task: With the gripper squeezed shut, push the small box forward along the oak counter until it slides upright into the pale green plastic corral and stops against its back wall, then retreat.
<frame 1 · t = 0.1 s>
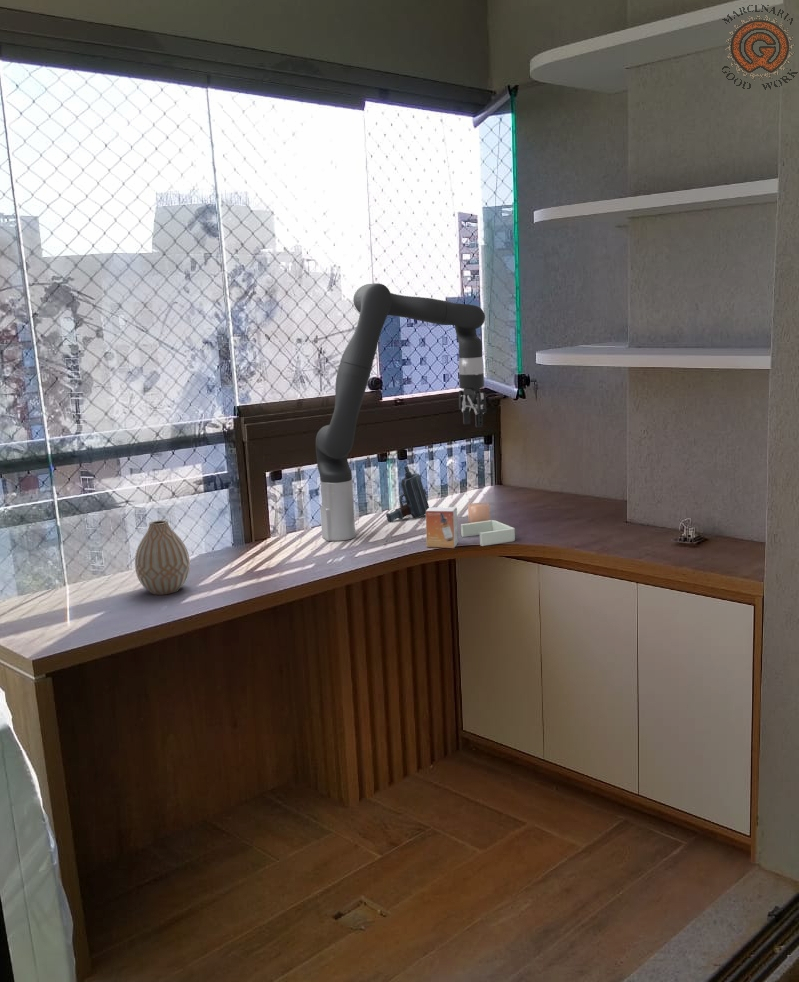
hand: (473, 425, 292), 29 cm above the table, fingers open, 8 cm apart
tan square slab: (479, 527, 284), on the table
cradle: (487, 538, 271), on the table
gun: (408, 519, 302), on the table
vase: (165, 591, 235), on the table
small box: (442, 546, 266), on the table
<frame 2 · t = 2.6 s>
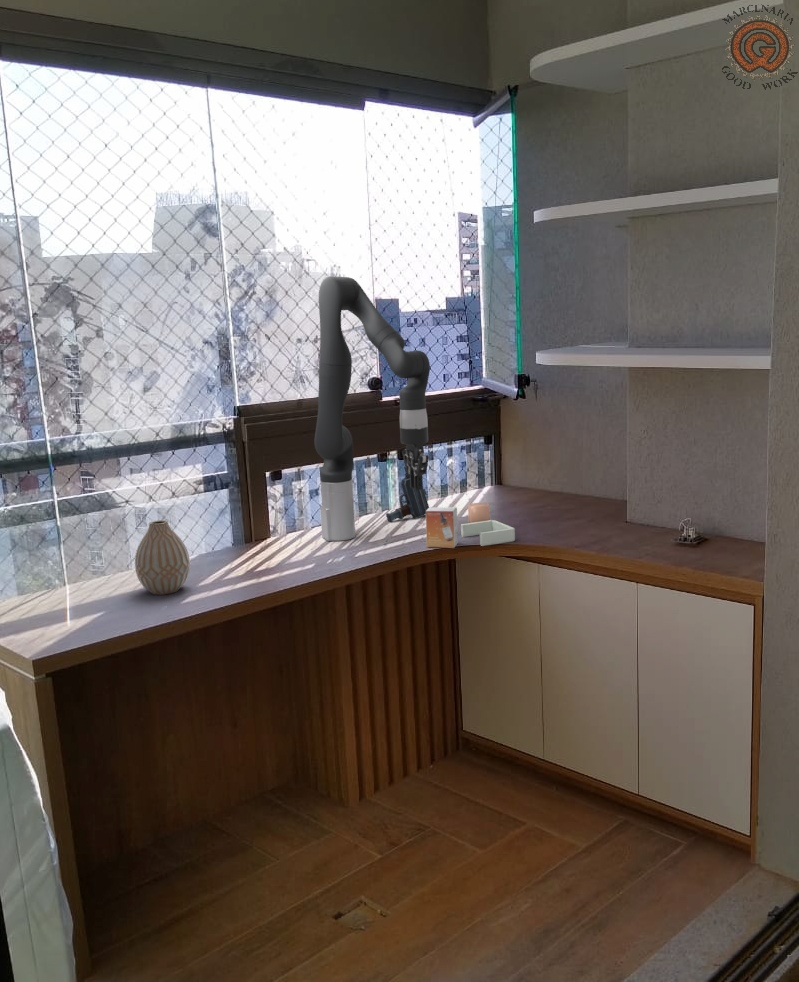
hand: (416, 488, 260), 17 cm above the table, fingers closed
nothing on the table moved.
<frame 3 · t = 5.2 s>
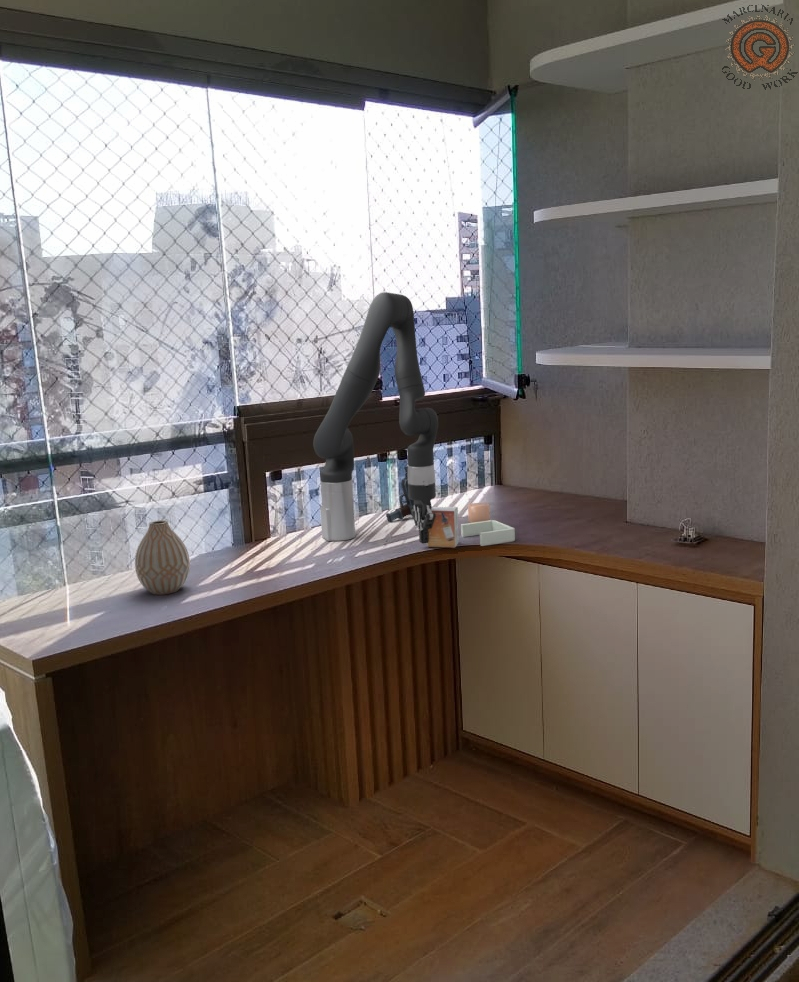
hand: (424, 542, 264), 2 cm above the table, fingers closed
small box: (443, 545, 266), on the table, touching gripper
everything else where it was.
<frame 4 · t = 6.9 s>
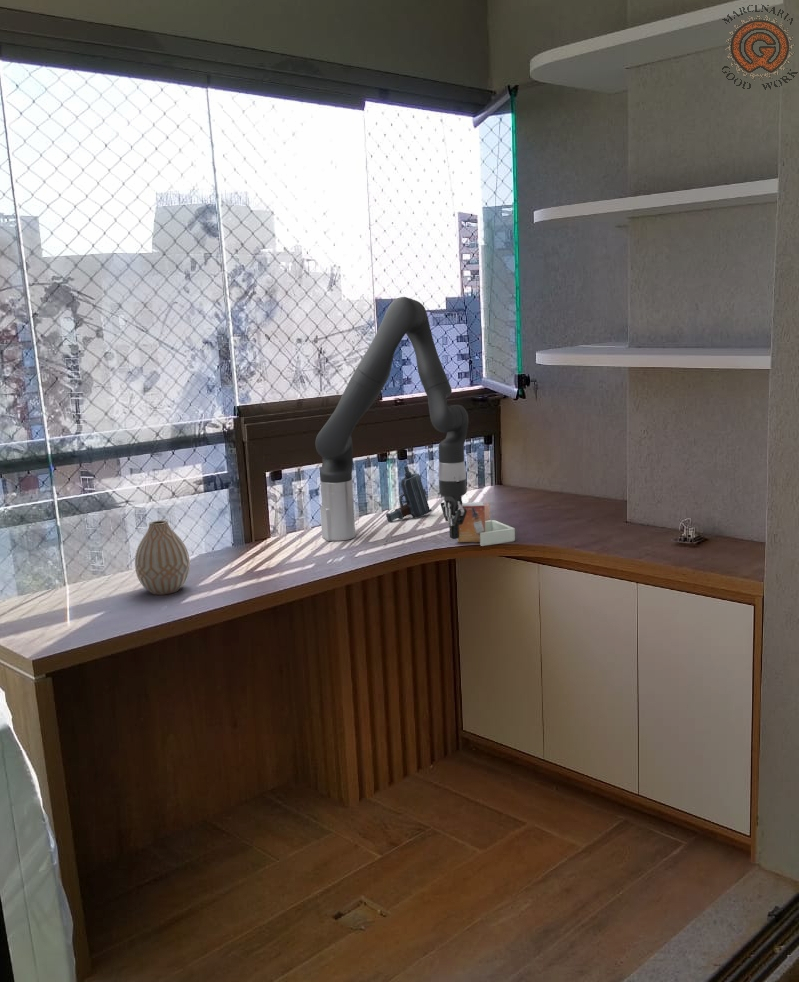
hand: (454, 538, 267), 2 cm above the table, fingers closed
small box: (471, 540, 270), on the table, touching gripper
everything else where it was.
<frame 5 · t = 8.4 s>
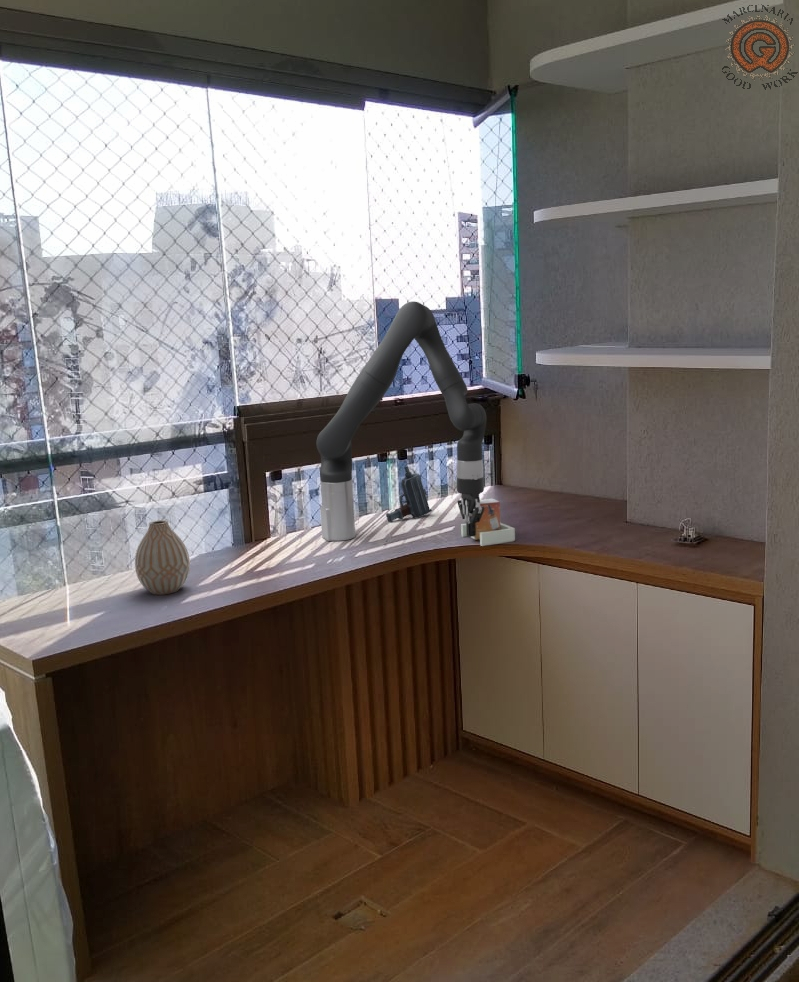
hand: (471, 535, 269), 2 cm above the table, fingers closed
small box: (484, 537, 273), on the table, touching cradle, hand
everything else where it was.
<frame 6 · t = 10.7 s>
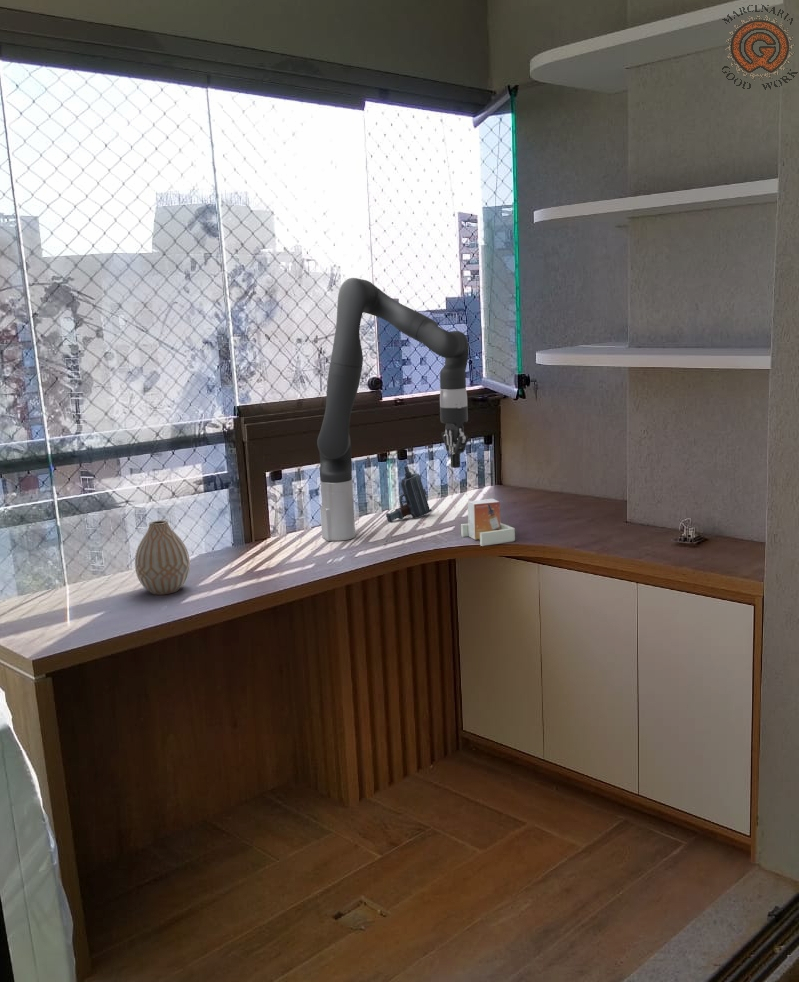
hand: (455, 467, 264), 22 cm above the table, fingers closed
small box: (484, 537, 273), on the table, touching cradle
everything else where it was.
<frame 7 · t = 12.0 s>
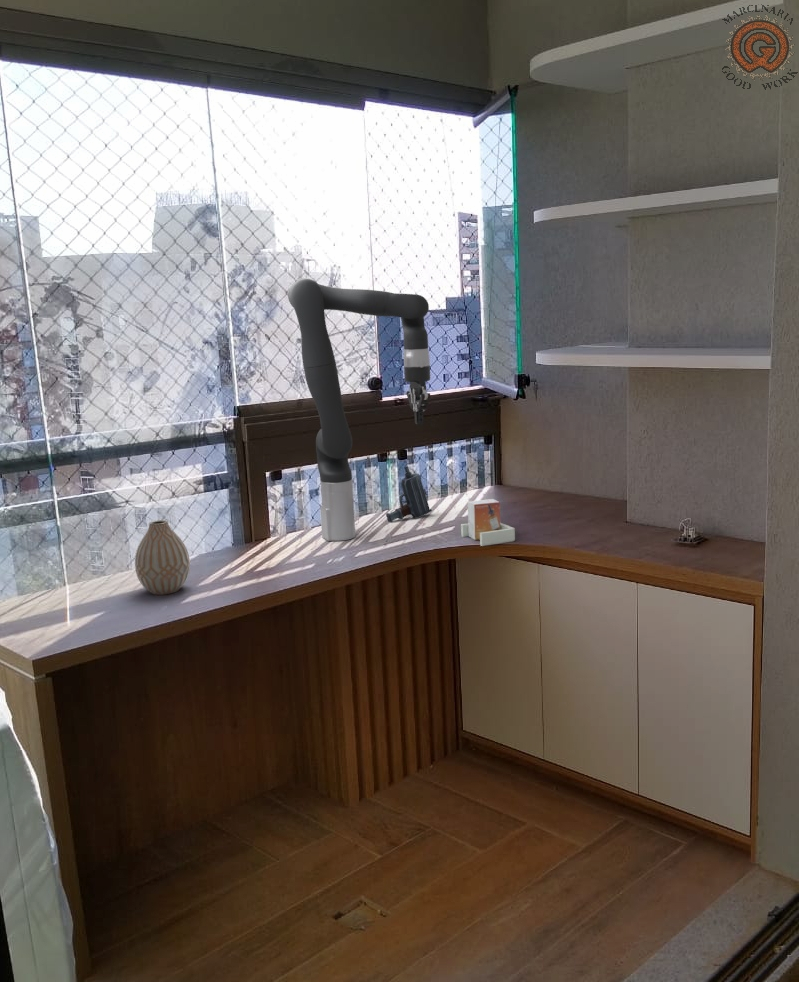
hand: (419, 424, 279), 32 cm above the table, fingers closed
small box: (484, 537, 273), on the table
everything else where it was.
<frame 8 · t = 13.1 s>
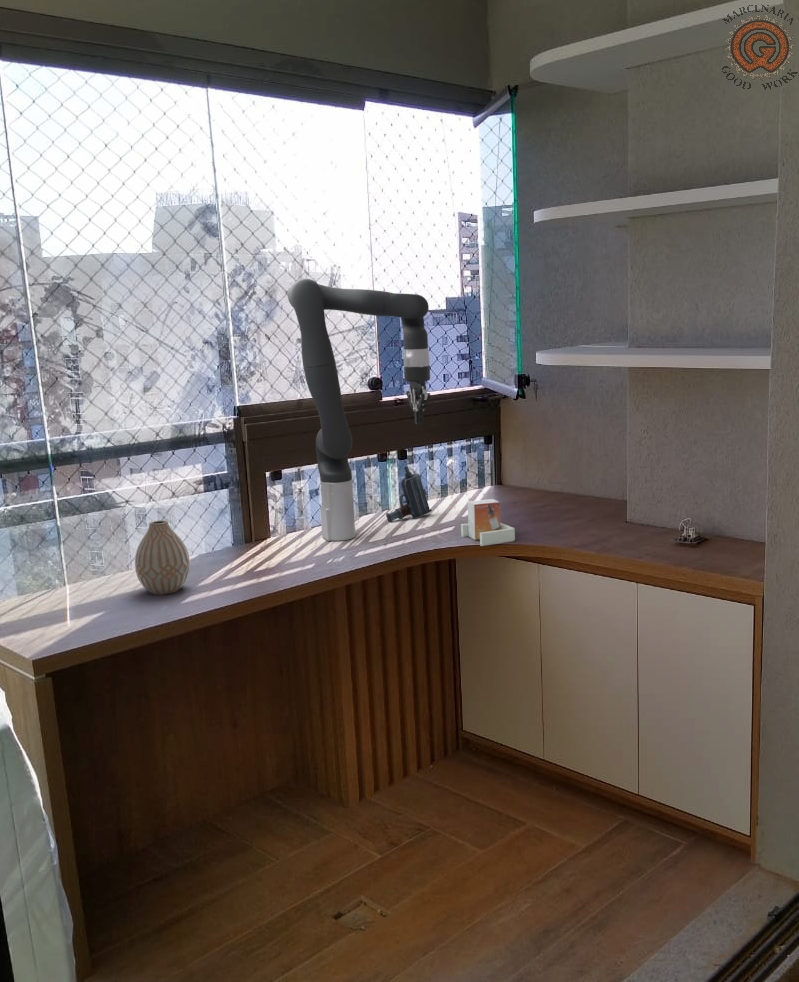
hand: (419, 423, 279), 32 cm above the table, fingers closed
nothing on the table moved.
at the end: small box inside the target area on the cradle (2.1 cm from its centre), point 0.0 cm above the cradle's base; small box tilted 0°; the gripper is holding nothing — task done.
